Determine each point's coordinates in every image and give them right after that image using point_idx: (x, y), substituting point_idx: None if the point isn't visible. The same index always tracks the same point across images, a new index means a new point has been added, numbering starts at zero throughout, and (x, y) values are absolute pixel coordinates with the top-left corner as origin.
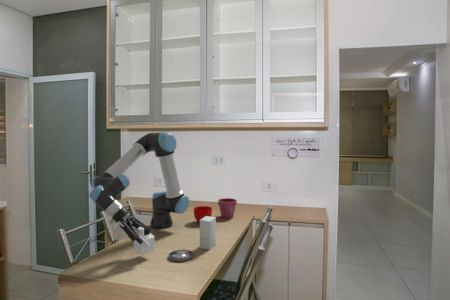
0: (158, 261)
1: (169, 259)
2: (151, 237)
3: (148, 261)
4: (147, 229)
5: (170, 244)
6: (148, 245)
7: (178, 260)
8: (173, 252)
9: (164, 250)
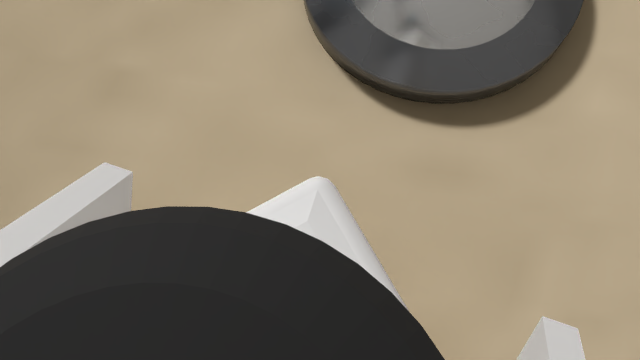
0: (482, 224)
1: (474, 99)
2: (363, 242)
3: (443, 345)
4: (441, 357)
5: (24, 27)
6: (571, 349)
7: (577, 14)
8: (351, 25)
9: (175, 115)
